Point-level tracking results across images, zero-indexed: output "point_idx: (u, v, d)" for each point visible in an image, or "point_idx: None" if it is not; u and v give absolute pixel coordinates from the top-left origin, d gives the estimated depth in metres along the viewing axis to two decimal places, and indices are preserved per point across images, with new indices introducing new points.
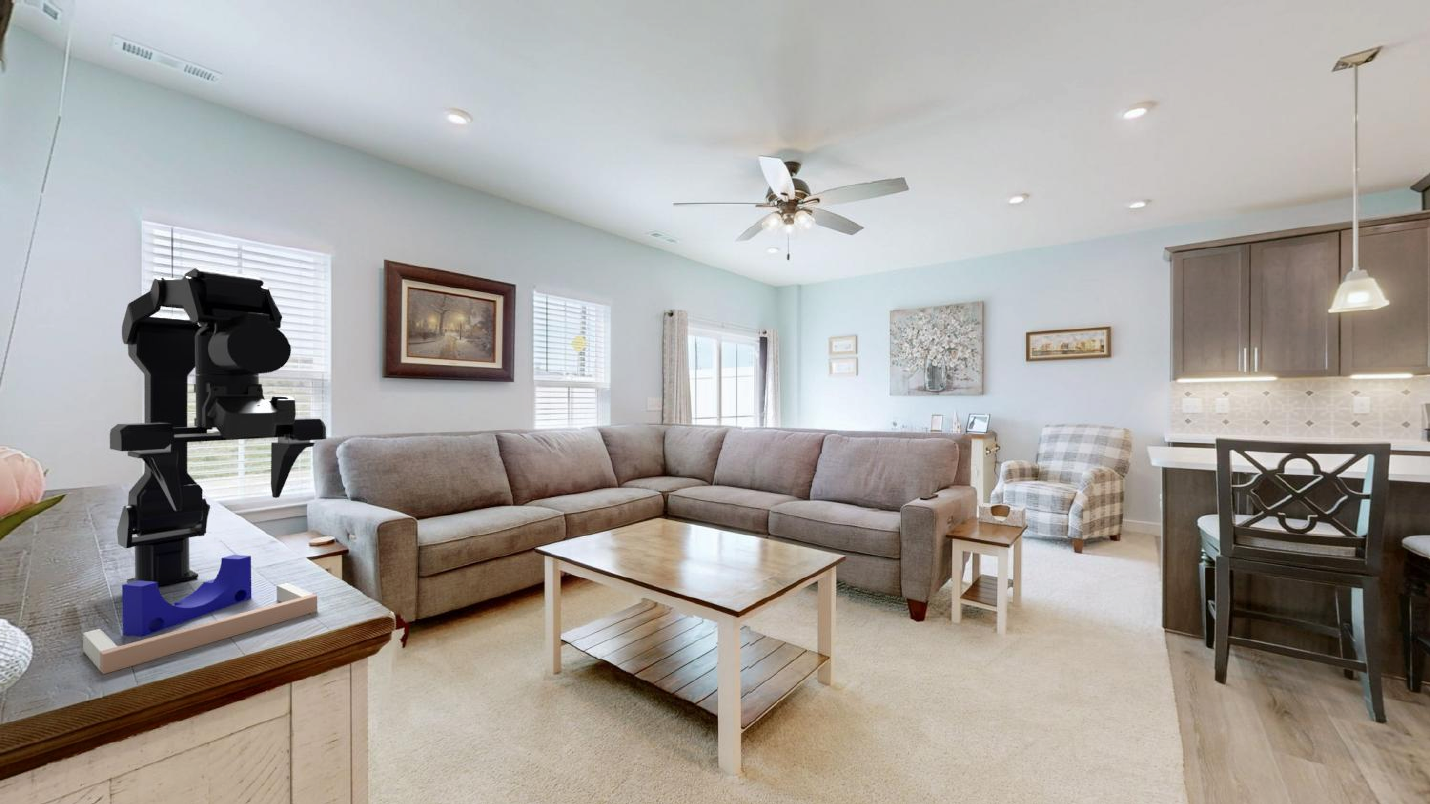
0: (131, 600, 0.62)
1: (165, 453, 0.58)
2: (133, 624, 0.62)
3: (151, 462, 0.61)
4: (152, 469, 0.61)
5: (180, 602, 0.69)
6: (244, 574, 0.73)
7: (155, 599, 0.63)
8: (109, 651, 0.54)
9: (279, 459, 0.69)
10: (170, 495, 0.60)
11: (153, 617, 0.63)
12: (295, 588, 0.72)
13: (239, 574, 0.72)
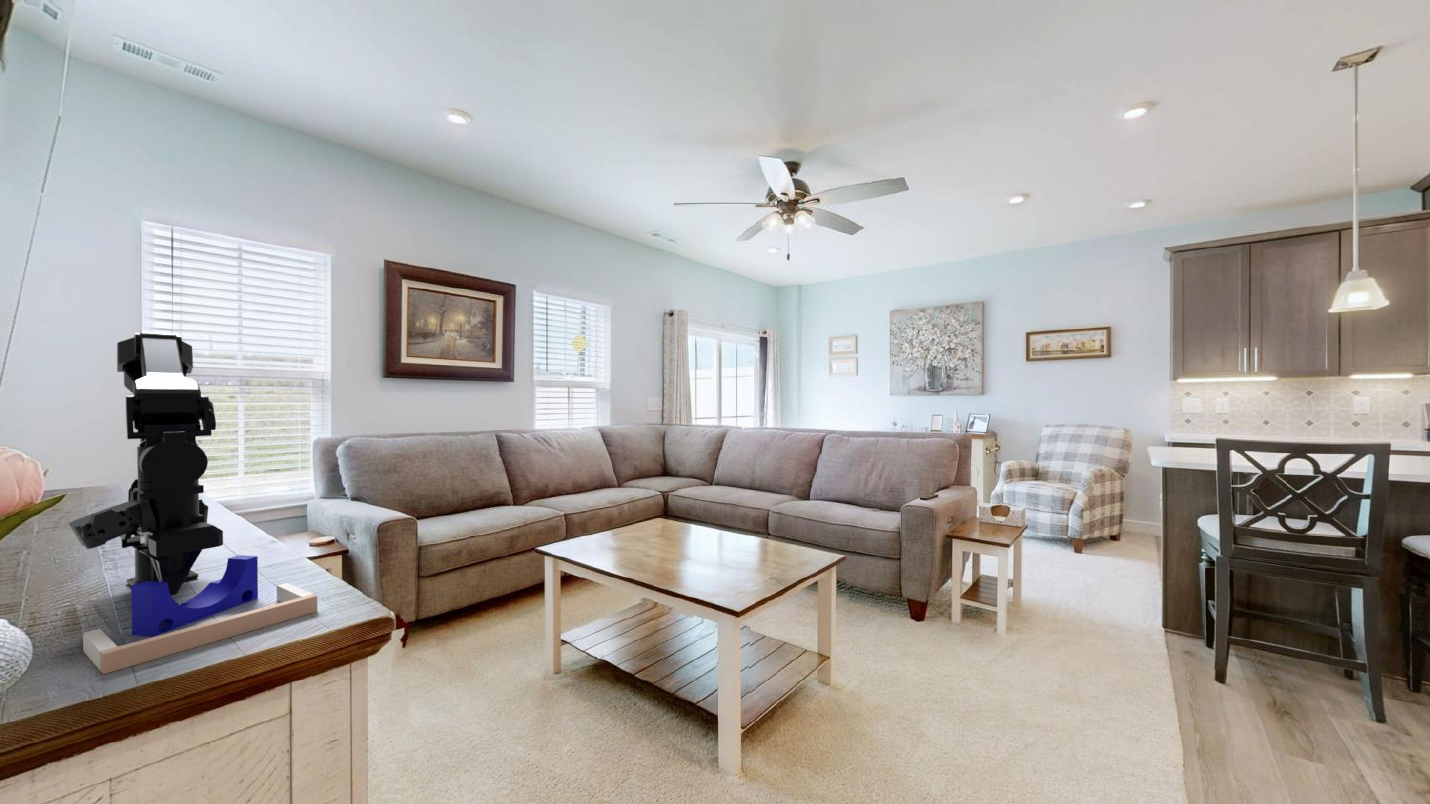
0: (141, 601, 0.62)
1: (134, 547, 0.70)
2: (143, 625, 0.62)
3: None
4: None
5: (187, 603, 0.68)
6: (251, 574, 0.73)
7: (165, 599, 0.63)
8: (109, 651, 0.54)
9: None
10: (160, 581, 0.72)
11: (163, 618, 0.63)
12: (295, 588, 0.72)
13: (246, 574, 0.72)
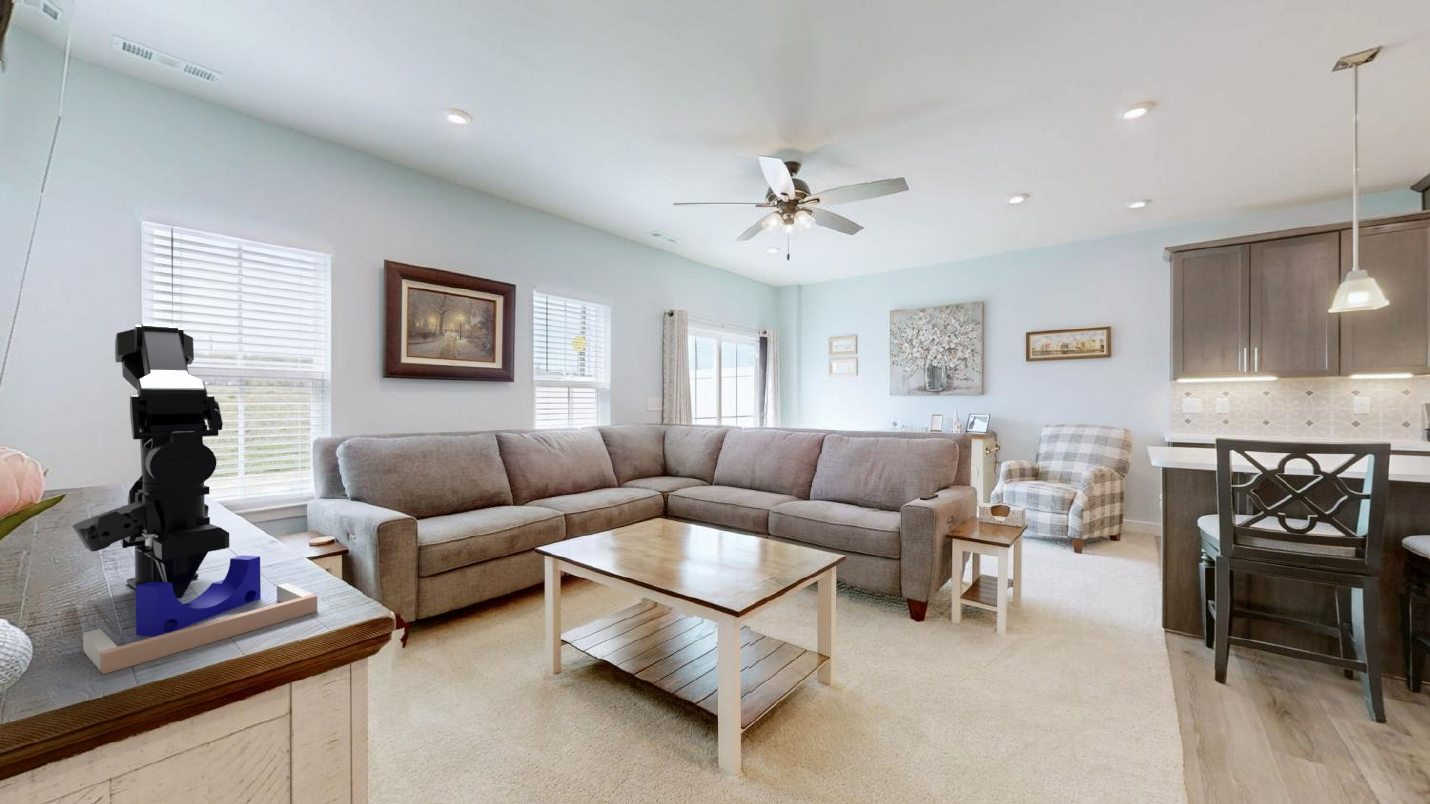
0: (145, 601, 0.62)
1: (139, 550, 0.69)
2: (148, 625, 0.62)
3: None
4: None
5: (190, 603, 0.68)
6: (253, 574, 0.73)
7: (169, 600, 0.63)
8: (109, 651, 0.54)
9: None
10: None
11: (168, 618, 0.63)
12: (295, 588, 0.72)
13: (249, 574, 0.72)
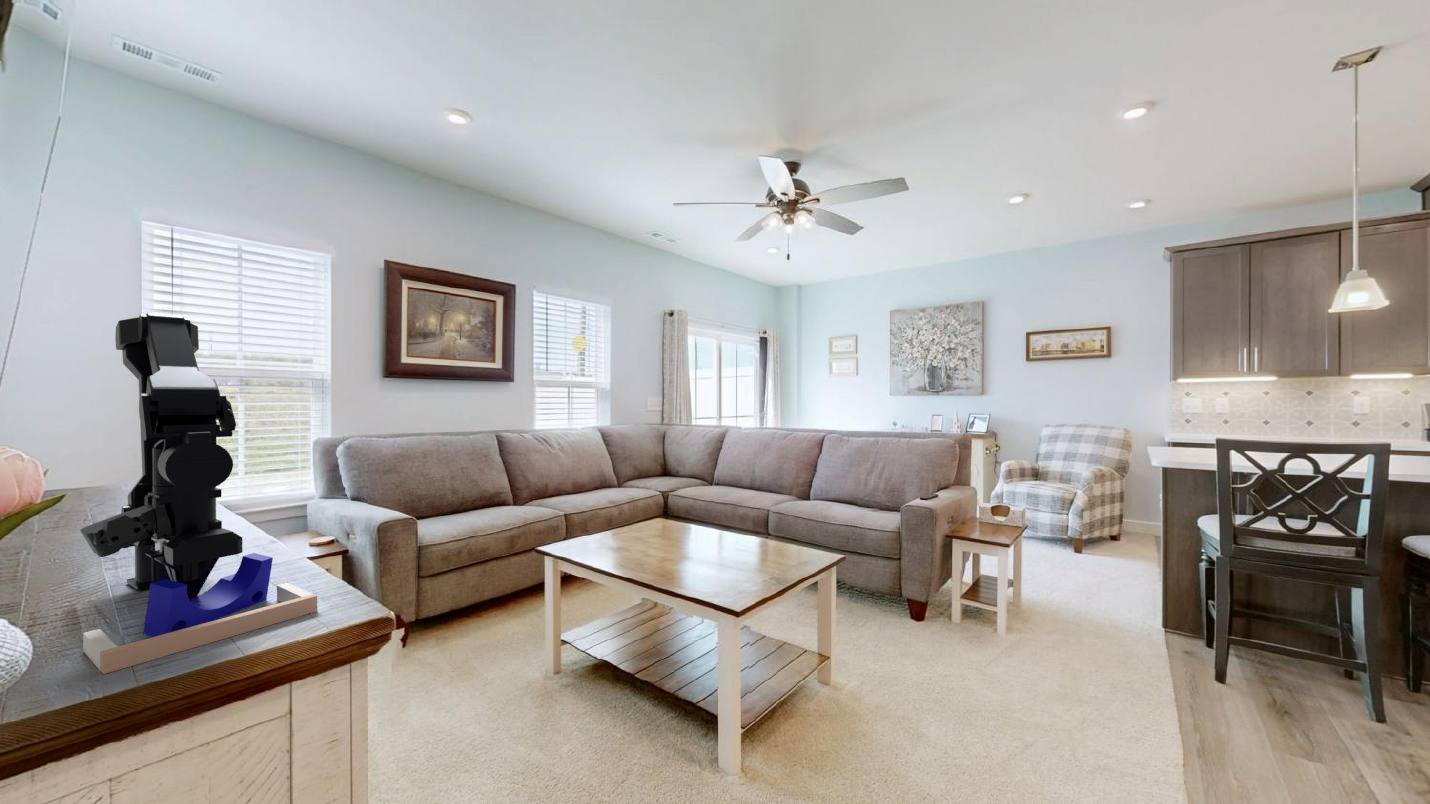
0: (158, 601, 0.61)
1: (149, 555, 0.66)
2: (157, 625, 0.61)
3: None
4: None
5: (198, 599, 0.68)
6: (264, 575, 0.72)
7: (182, 601, 0.62)
8: (109, 651, 0.54)
9: None
10: None
11: (178, 619, 0.62)
12: (295, 588, 0.72)
13: (259, 576, 0.71)
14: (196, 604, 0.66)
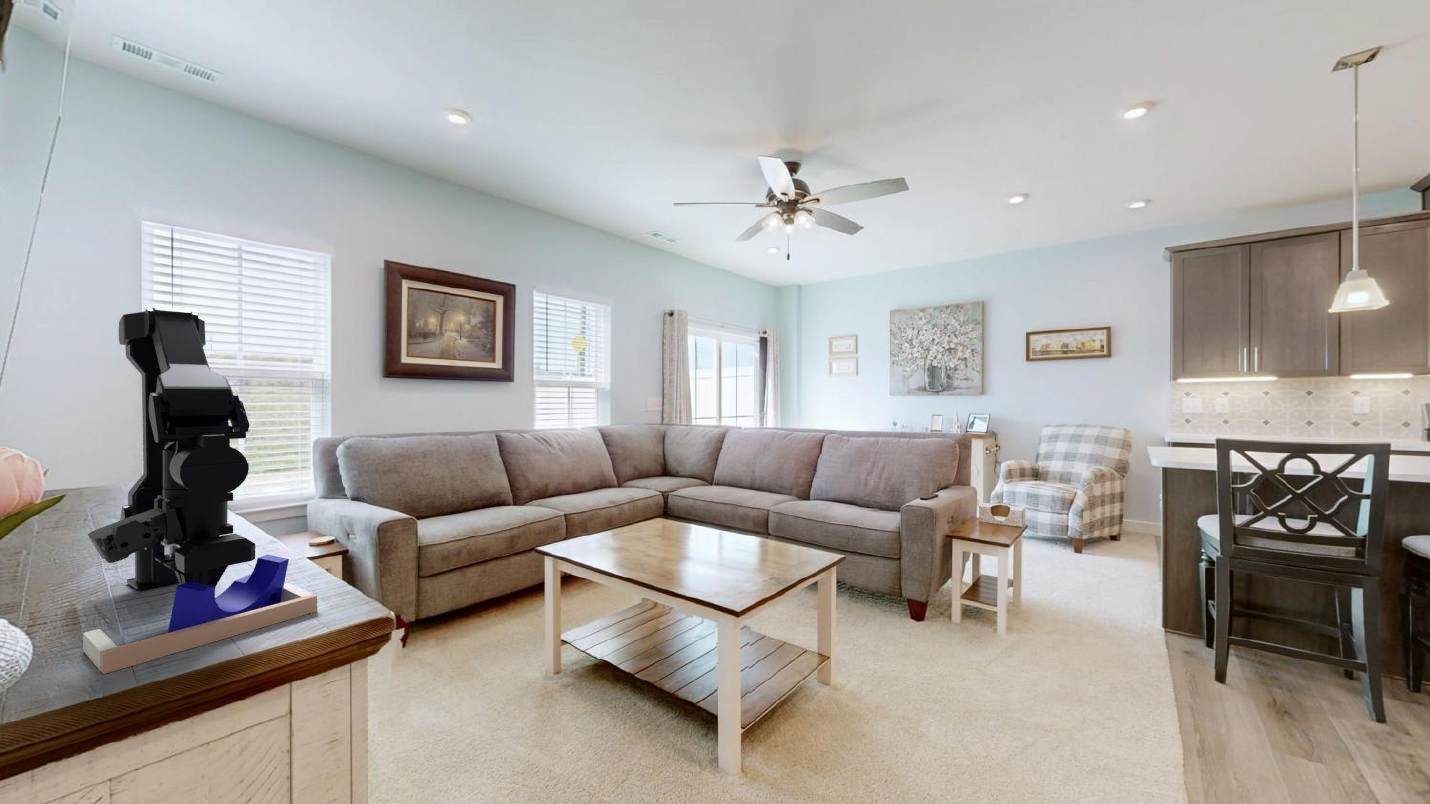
0: (185, 603, 0.60)
1: (158, 560, 0.64)
2: (183, 628, 0.60)
3: None
4: None
5: None
6: (280, 577, 0.71)
7: (210, 604, 0.61)
8: (109, 651, 0.54)
9: None
10: None
11: (205, 622, 0.61)
12: (295, 588, 0.72)
13: (276, 577, 0.71)
14: None
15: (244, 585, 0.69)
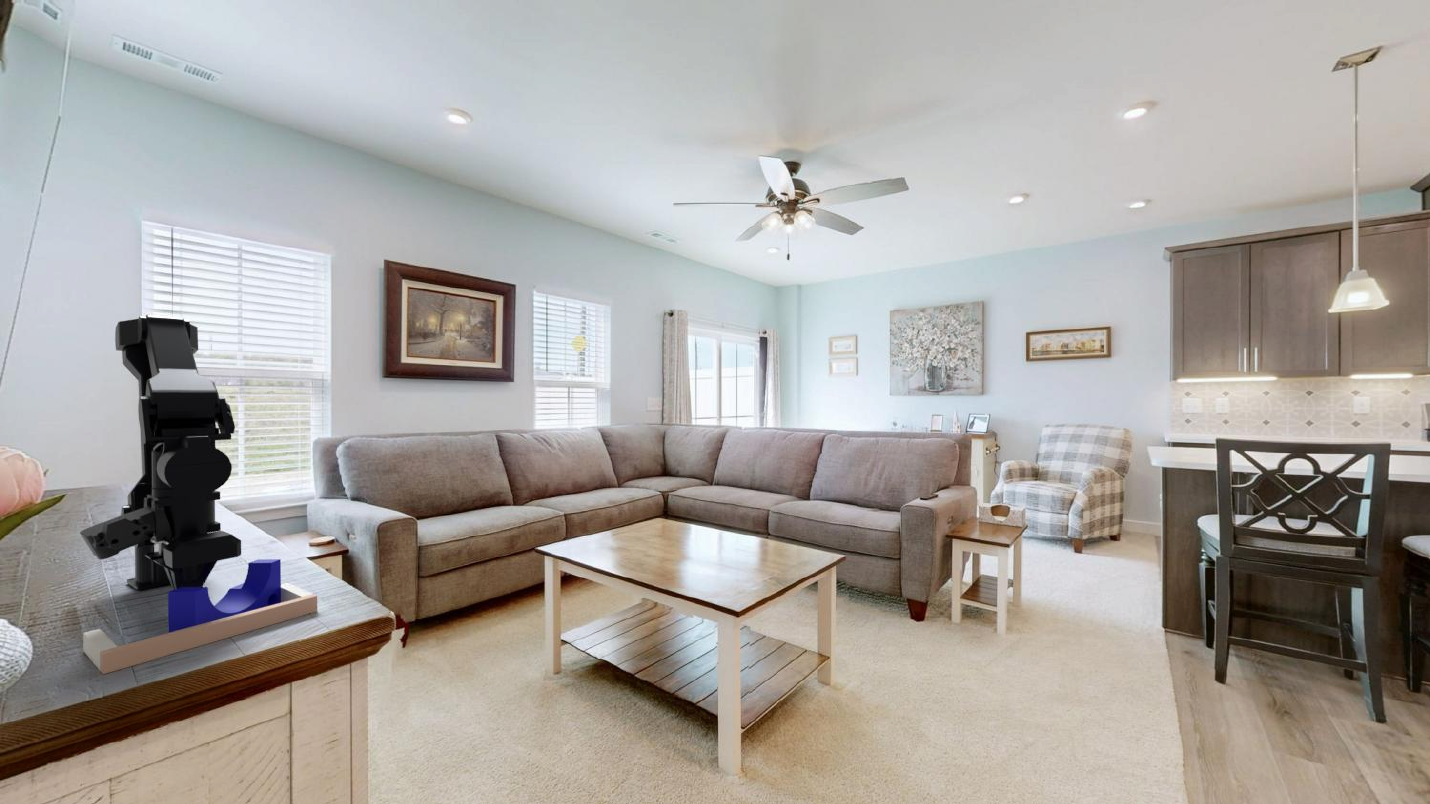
0: (180, 607, 0.60)
1: (148, 557, 0.67)
2: None
3: None
4: None
5: None
6: (275, 578, 0.71)
7: (205, 605, 0.61)
8: (109, 651, 0.54)
9: None
10: None
11: None
12: (295, 588, 0.72)
13: (271, 578, 0.70)
14: None
15: (240, 591, 0.69)
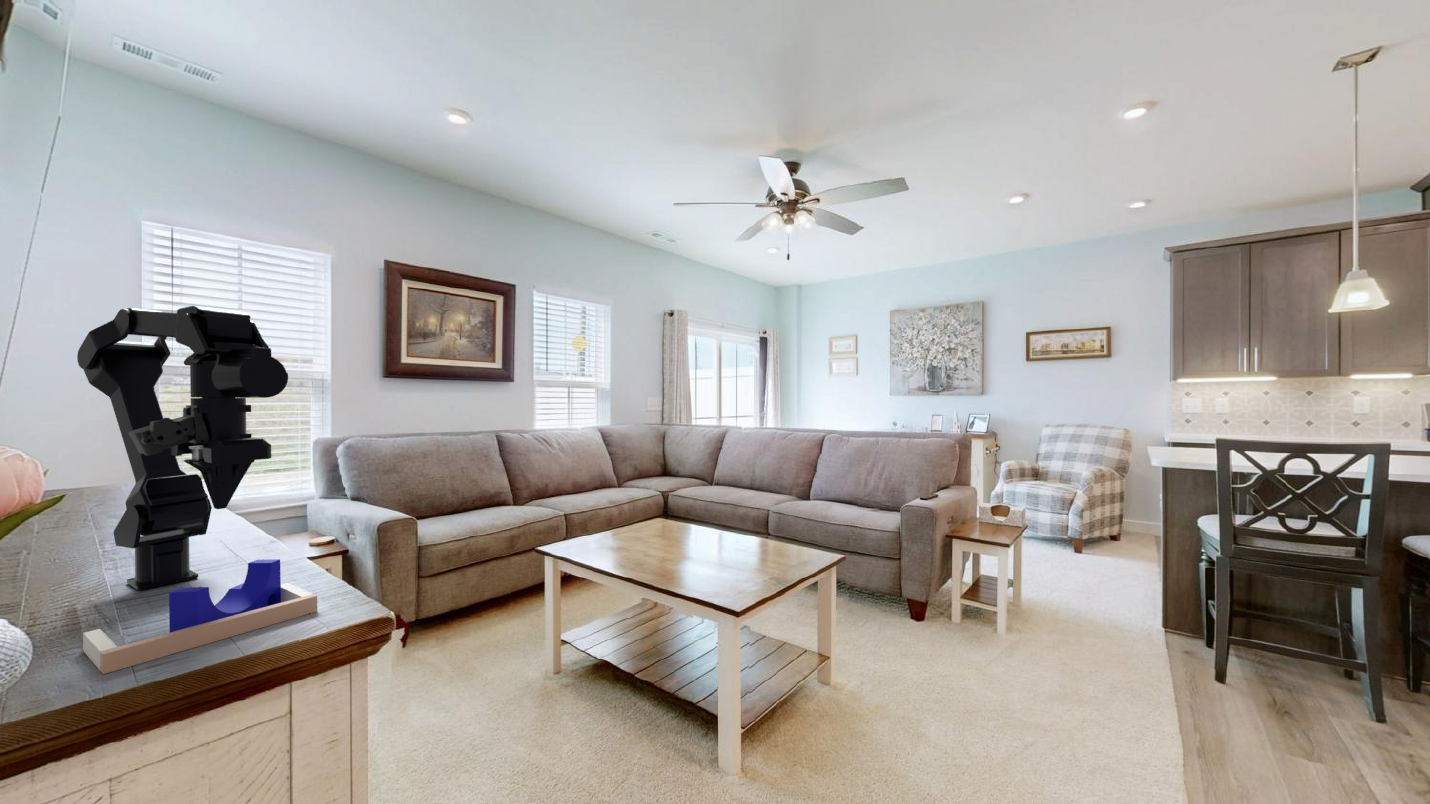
0: (181, 607, 0.60)
1: (187, 461, 0.74)
2: None
3: None
4: None
5: None
6: (275, 578, 0.71)
7: (207, 605, 0.61)
8: (109, 651, 0.54)
9: None
10: None
11: None
12: (295, 588, 0.72)
13: (271, 578, 0.71)
14: None
15: (240, 591, 0.69)
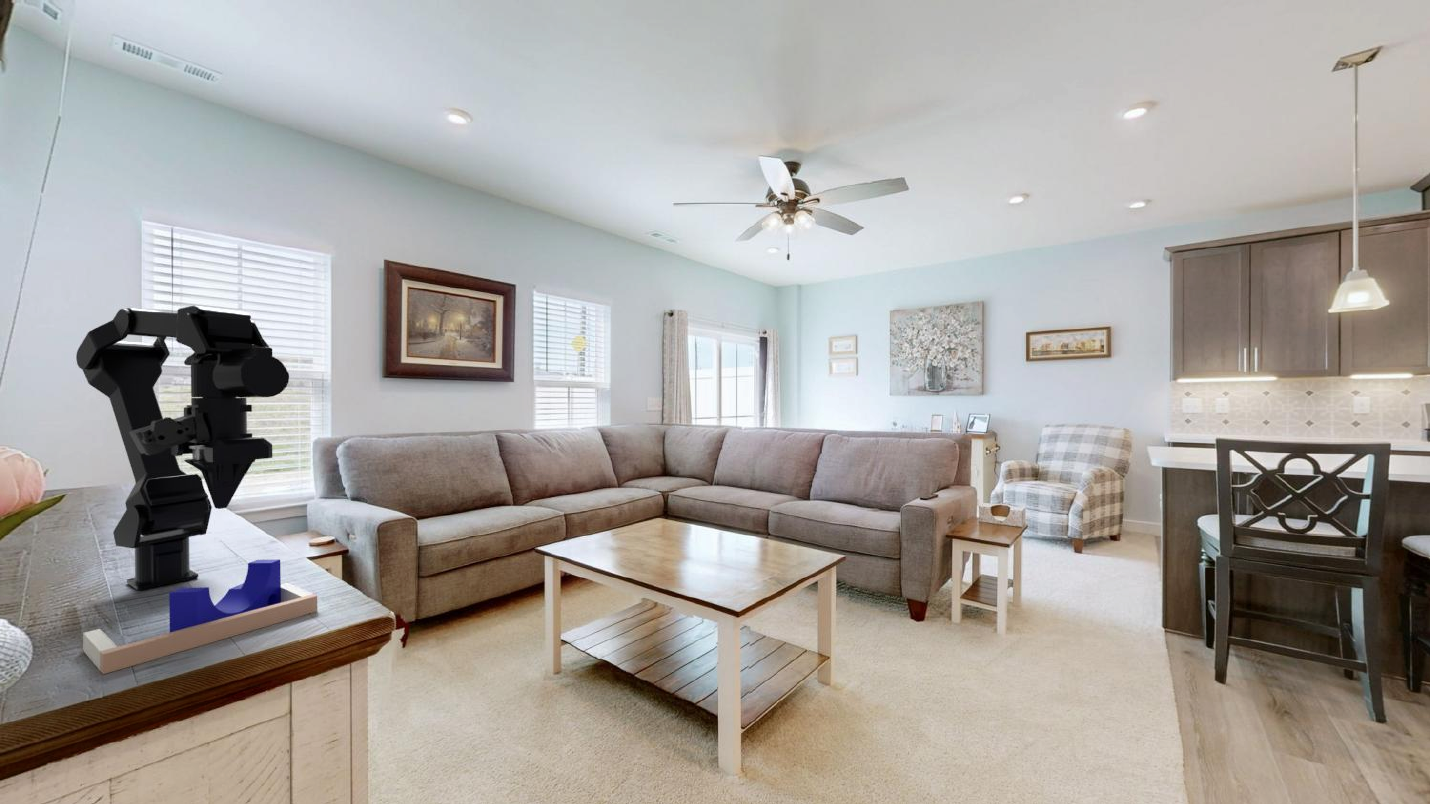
0: (181, 608, 0.60)
1: (188, 461, 0.74)
2: None
3: None
4: None
5: None
6: (275, 578, 0.71)
7: (207, 605, 0.61)
8: (109, 651, 0.54)
9: None
10: None
11: None
12: (295, 588, 0.72)
13: (271, 578, 0.71)
14: None
15: (240, 591, 0.69)
